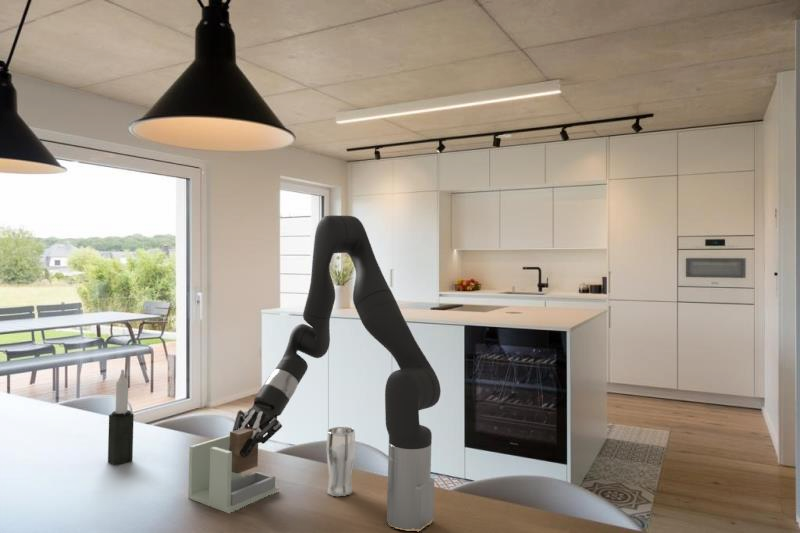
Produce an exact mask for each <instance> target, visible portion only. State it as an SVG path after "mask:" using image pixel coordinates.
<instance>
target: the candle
mask: <svg viewBox="0 0 800 533" xmlns="http://www.w3.org/2000/svg"><path fill="white" fill-rule="evenodd" d="M128 397H129V381H128V379H127V378H126V375H125V370H124V369H121V370H120V375H119V377H118V379H117V381H116V384H115V410H114V411H112V412H111V413H110V414H108V438H107V439H108V440H107V441H108V444H107V445H108V446H107V448H108V449H107V463H109V464H110V463H111V464H110V465H112V464H113V466H120V465H123V464H127V463H131V462H133V458H134V457H133V455H134V454H133V453H134V452H133V451H134V450H133V448H134V421H135V420H134V418H135V417H134V416H135V414H134V413H131V412H132V411H131V410H129V409H128V405H129V404H128V400H129V398H128Z"/></svg>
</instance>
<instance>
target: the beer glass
mask: <svg viewBox="0 0 800 533" xmlns="http://www.w3.org/2000/svg"><path fill="white" fill-rule="evenodd" d="M325 451H326V462H327V468H328V469H327V471H328V485H327V490H326V493H327V495H328V494H330V495H334V496H344V495H348V494H350V495H352V494H353V487H352V471H353V466H354V462H355V461H354V460H355V455H356V431H355V429H354V428H352V427H348V426H335V427H331V428H329V429H328V430H327V437H326V450H325ZM351 493H352V494H351ZM330 495H329V496H330Z"/></svg>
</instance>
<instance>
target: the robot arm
mask: <svg viewBox="0 0 800 533" xmlns="http://www.w3.org/2000/svg"><path fill="white" fill-rule="evenodd" d="M368 236H369V235H368V234H367V231H366V228H365V226H364V224H363V223H362V221H361V220H360V219H359V218H358V217H356V216H352V215H335V214H334V215H333V214H332V215H325V216H323V217H321V219H320V220H319V221H318V223H317V225H316V228H315V234H314V240H313V252H312V262H311V264H312V265H311V274H310V275H311V276H310V284H309V290H308V294H307V298H306V300H305V305H304V309H303V313H302V318H303V320H304V321H305V322H306V324H304V323H300V324H298V325H296V326H294V328H293V329H292V331H291V333H290V335H289V340H288V343H287V346H286V349H285V352H284V354H283V356H282V358H281V360H280V361H279V363H278V364H277V366H276V367H275V369H274V370H273V371H272V373H271V374H270V375H269V376H268V378H267V379H266V381H265V382H264V383H263V384H262V386H261V387H260V389H259V391H258V393H257V394H256V395H255V397H254V399H253V405H252V406H251V407H250V408H249V409H248V410H247V411H243V410H241V409H239V411H237V413H236V417H235V421H234V424H233V429H232V431H235V430H238V429H242V428H246V427H248V426H251V427H253V428H252V429H253V431H252V433H251V435H250V439H248V440H247V441H246V443H245V444H244V446H243V448H242V449H241V451H240V455H241V456H242V457H244V458H246V457H247V456H248V455H249V454H250V453H251V451H252V450H253V448H254V447H255V445H256V444H258V445H259V443H260V444H262V445H263V444H265V443H267V442H268V440H270V439H271V438H272V437H273V436H274V435H275V434H276V433H277V432H278V431H279V430H281V429H282V427H283V425H282V424H281V422H280V421H279V420H278V417H279V416H281V415H282V413H283V411H284V410H285V408H286V407H287V405H288V403H289V402H290V400H291V398H292V397H293V395H294V393H295V392H296V389H297V388H298V385H299V383H300V382H301V380H302V379H303V377H304V375H306V373H307V371H308V368H309V367H308V366H309V365H308V362H307V361H306V360H305V359H304V358H303V357H302V356H300V355H299V354H298V352H301V353H303V354H305V355H307V356H309V357H311V358H314V359H321V358H322V357H324V356H325V355H326V354H327V352H328V351H329V347H330V342H331V334H330V319H331V315H332V312H333V309H334V305H335V300H336V289H335V285H334V282H333V279H332V276H331V272H330V271H331V269H330V266H331V261H332V258H333V256H334V254H345V253H346V254H347V255H348V256H349V257H350V259H351V261H352V262H351V263H352V264H353V267H354V269H355V280H354V287H353V291H352V292H353V293H352V302H353V305H354V307H355V311H356V313H357V314H358V316H359V318H360V319H359V320H360V321H361V324H362V325H363V327H364V328H365V329H366V332H368V333H369V335H370V336H372V338H374V339H375V340H376V341H377V342H378V343H379V344H381V346H383V347H384V348H385V350H387V351H388V352H389V353H390V354H391V356H392V357H393V358H394V360H395V362H396V363H397V365H398V367H399V369H397V370H394V371H393V372H392V373H391V374H389V376H388V378H387V380H386V384H385V388H384V404H385V405H384V408H385V409H384V411H385V412H384V413H385V427H386V431H387V435H388V452H387V453H388V460H387V464H388V465H387V492H386V493H387V495H386V497H387V498H386V523H387V522H388V523H389V524H390V525H392V526H394V527H398V528H402V529H412V528H414V529H421V528H422V527H423V526H425V525H426V524H427V523H429V522H430V521H431V520H432V519H433V520H434V510H435V509H434V508H435V507H434V505H435V479H434V477H433V478H432V476H431V474H432V473H431V472H432V464H431V463H432V440H433V439H432V438H433V436H432V434H433V433H432V431H431V429H430V428H429V427H427V426H425V425H422V424H421V423H420V411H422V410H425V409H429V408H432V407H434V406H435V405H437V403H438V402H439V400H440V397H441V385H440V384H441V383H440V381H439V379H438V376H437V373H436V372H435V370H434V368H433V367H432V365H431V363H430V362H429V360H428V359H427V357H426V356H425V354H424V352H423V351H422V348H420V346H419V343H418V342H417V341H416V338H415V337H414V335H413V334H412V331H411V329H410V327H409V325H408V323H407V321H406V319H405V317H404V316H403V313H402V311H401V309H400V307H399V305H398V302H397V300H396V298H395V296H394V294H393V292H392V290H391V288H390V286H389V284H388V283H387V281H386V279H385V276H384V274H383V271H382V270H381V267H380V265H379V263H378V261H377V258H376V256H375V253H374V251H373V247H372V245H371V243H370V239H369V237H368ZM307 324H308V325H307ZM256 434H257V435H256ZM229 449H230V447H229Z"/></svg>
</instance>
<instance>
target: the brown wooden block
mask: <svg viewBox="0 0 800 533" xmlns="http://www.w3.org/2000/svg"><path fill="white" fill-rule="evenodd" d="M252 428H253V427H251V426H249V425H248V427H246V428H242V429H239V428H238V430H235V431H233V430H232V431H229V435H230V449H229V451H231V452H232V472H234V473H237V474H238V473H241V472H242V473H243V472H246V471H248V470H252V469H254V468H257V467H258V461H259V443H258V444H256V445H255V447H254V448H253V450H252V451H251V453H250V454H249V455H248V456H247V457H246V458H244V457H242V456H241V455H240V451H241V449H242V448H243V446H244V444H245V443H246V441H247V440H248V439H250V435H251V433H252V431H253V429H252ZM256 435H257V434H256ZM242 473H241V474H242Z"/></svg>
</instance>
